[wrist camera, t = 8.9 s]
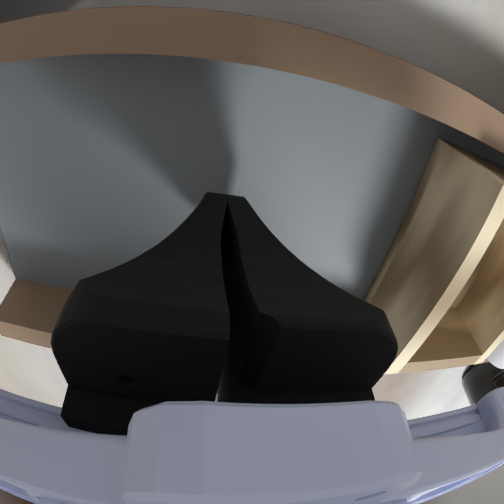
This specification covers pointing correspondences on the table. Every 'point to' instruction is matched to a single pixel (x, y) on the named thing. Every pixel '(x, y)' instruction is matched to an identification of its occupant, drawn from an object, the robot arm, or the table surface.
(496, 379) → the supplement bottle
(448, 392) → the table surface
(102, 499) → the robot arm
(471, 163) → the crate
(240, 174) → the bay
